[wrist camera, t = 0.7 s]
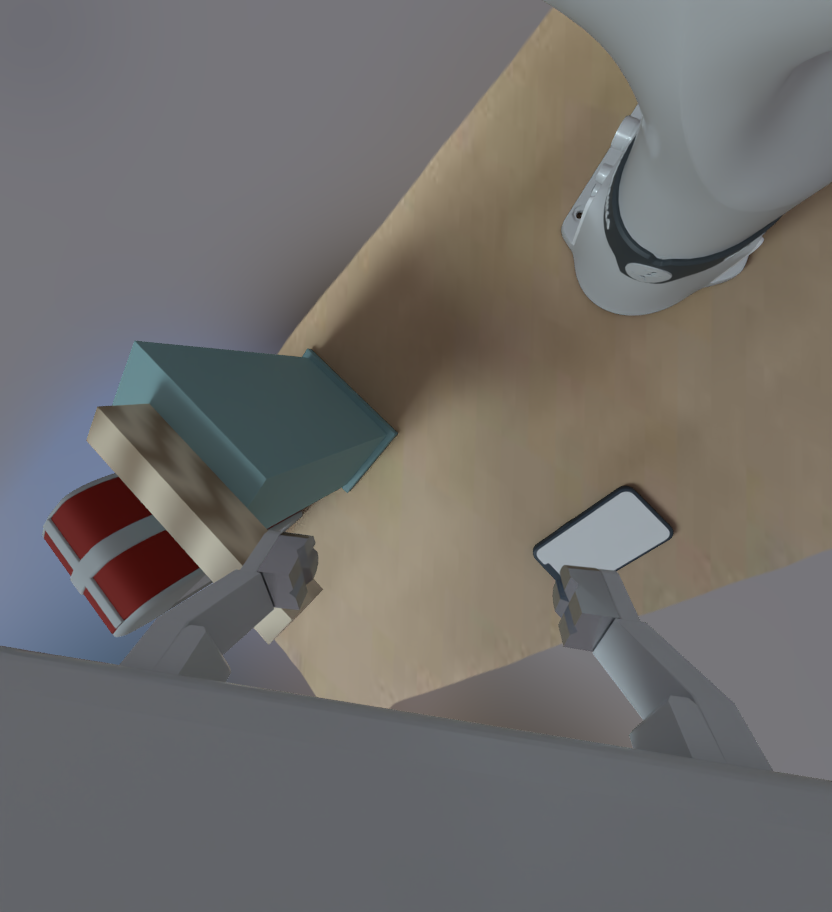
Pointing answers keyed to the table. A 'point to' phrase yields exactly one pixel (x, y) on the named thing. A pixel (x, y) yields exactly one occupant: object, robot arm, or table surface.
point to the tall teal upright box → (260, 421)
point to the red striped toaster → (123, 554)
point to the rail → (184, 496)
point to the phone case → (605, 535)
